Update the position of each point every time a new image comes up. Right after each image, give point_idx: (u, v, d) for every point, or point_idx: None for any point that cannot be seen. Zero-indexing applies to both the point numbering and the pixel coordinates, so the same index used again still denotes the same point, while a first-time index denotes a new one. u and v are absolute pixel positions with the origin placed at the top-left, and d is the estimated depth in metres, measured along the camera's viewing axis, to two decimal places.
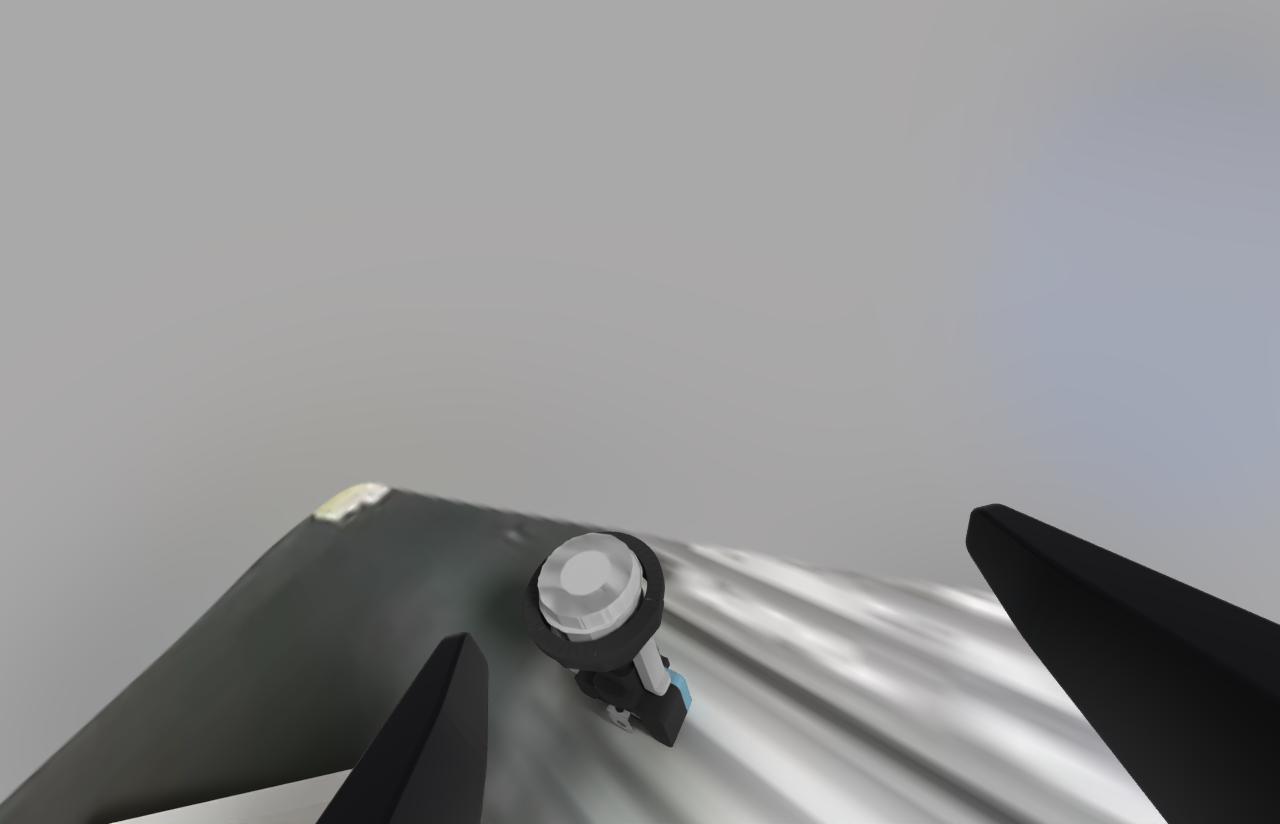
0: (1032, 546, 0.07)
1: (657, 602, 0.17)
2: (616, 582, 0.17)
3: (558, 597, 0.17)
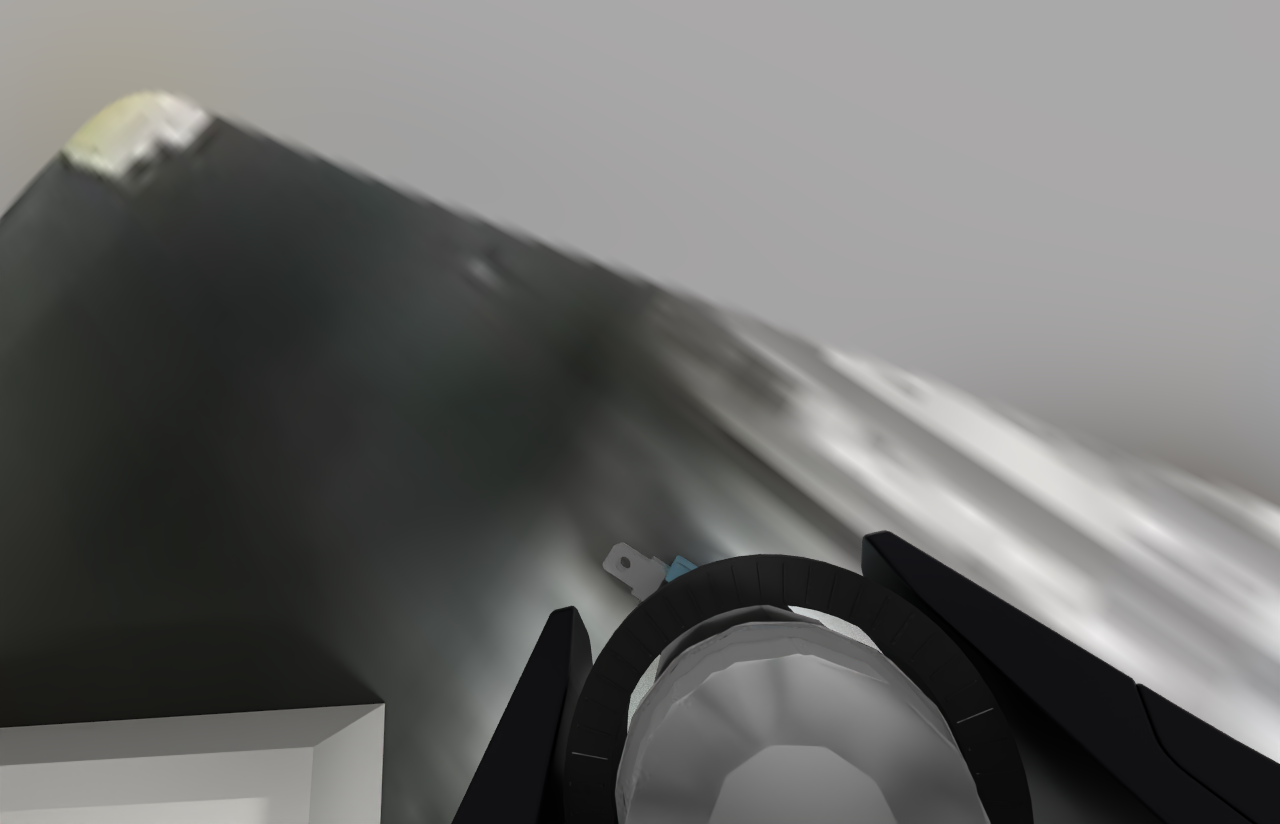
0: (906, 576, 0.07)
1: None
2: None
3: None
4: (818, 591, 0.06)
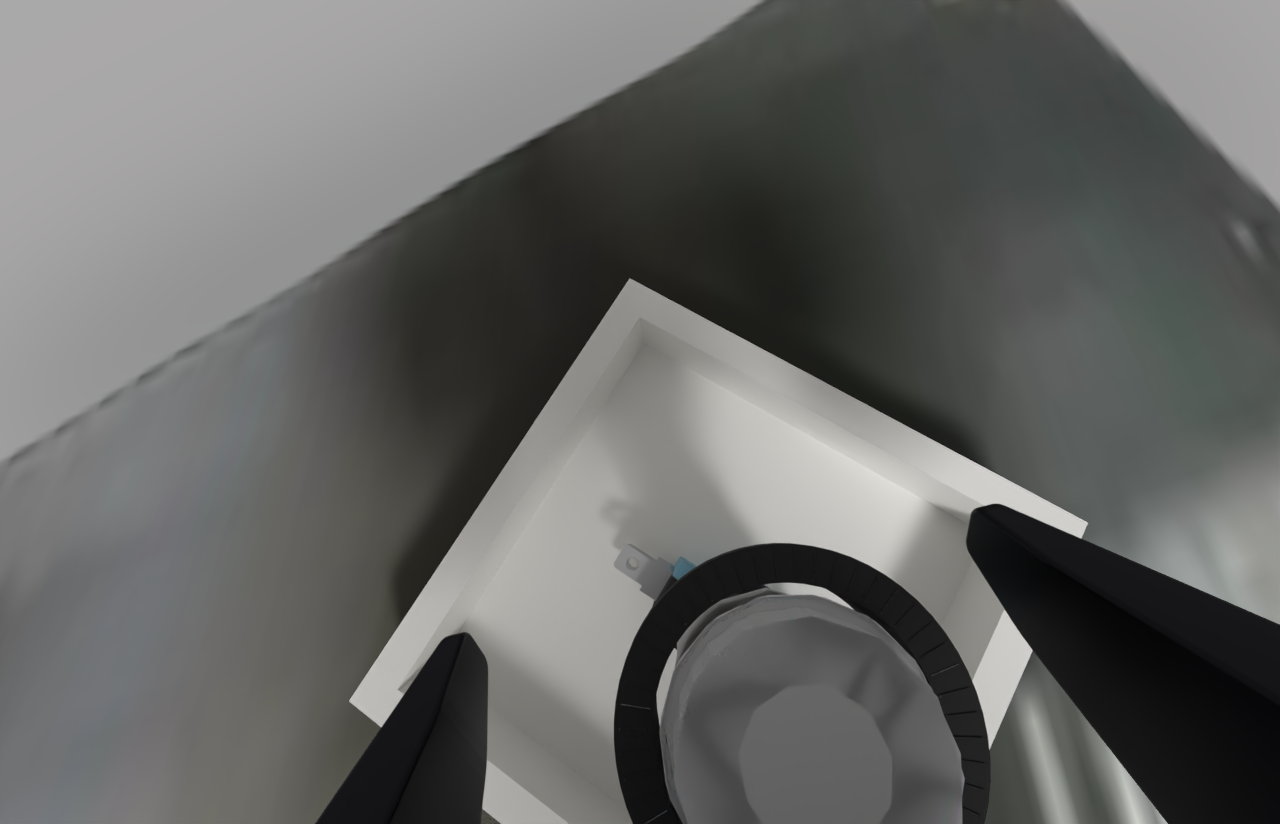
0: (1032, 546, 0.07)
1: (978, 821, 0.07)
2: None
3: None
4: (821, 572, 0.08)
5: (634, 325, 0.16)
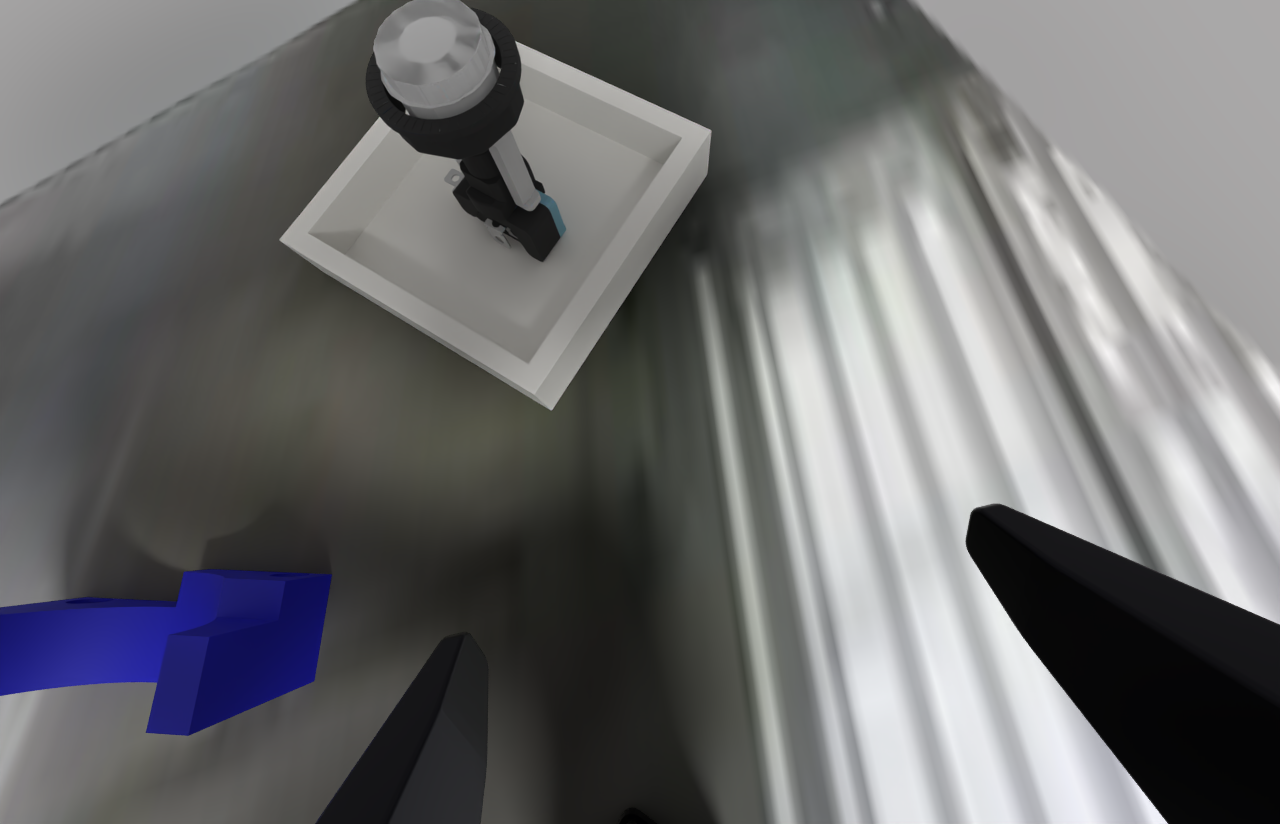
0: (1032, 546, 0.07)
1: (508, 88, 0.16)
2: (460, 54, 0.15)
3: (396, 63, 0.16)
4: None
5: None
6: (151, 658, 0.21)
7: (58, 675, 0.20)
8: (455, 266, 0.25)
